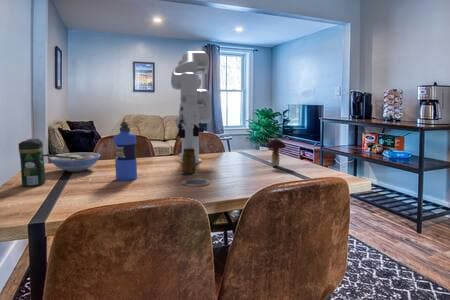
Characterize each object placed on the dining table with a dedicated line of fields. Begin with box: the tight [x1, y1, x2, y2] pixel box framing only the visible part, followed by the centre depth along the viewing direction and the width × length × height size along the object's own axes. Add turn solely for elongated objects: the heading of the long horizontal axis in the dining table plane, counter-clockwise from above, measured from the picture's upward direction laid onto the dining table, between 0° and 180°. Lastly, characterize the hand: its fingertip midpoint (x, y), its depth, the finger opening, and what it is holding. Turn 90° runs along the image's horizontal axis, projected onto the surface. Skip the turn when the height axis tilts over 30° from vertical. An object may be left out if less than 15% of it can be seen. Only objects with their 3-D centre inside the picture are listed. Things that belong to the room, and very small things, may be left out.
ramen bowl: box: [43, 152, 101, 173], centre depth 159 cm, size 25×23×8 cm
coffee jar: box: [18, 138, 47, 188], centre depth 132 cm, size 10×8×19 cm
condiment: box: [179, 148, 200, 177], centre depth 154 cm, size 7×8×12 cm
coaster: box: [181, 177, 211, 188], centre depth 137 cm, size 12×12×1 cm
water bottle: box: [113, 121, 138, 182], centre depth 143 cm, size 9×9×25 cm
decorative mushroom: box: [265, 138, 287, 167], centre depth 173 cm, size 11×11×15 cm
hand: (189, 137), depth 152 cm, fingers open, 9 cm apart
